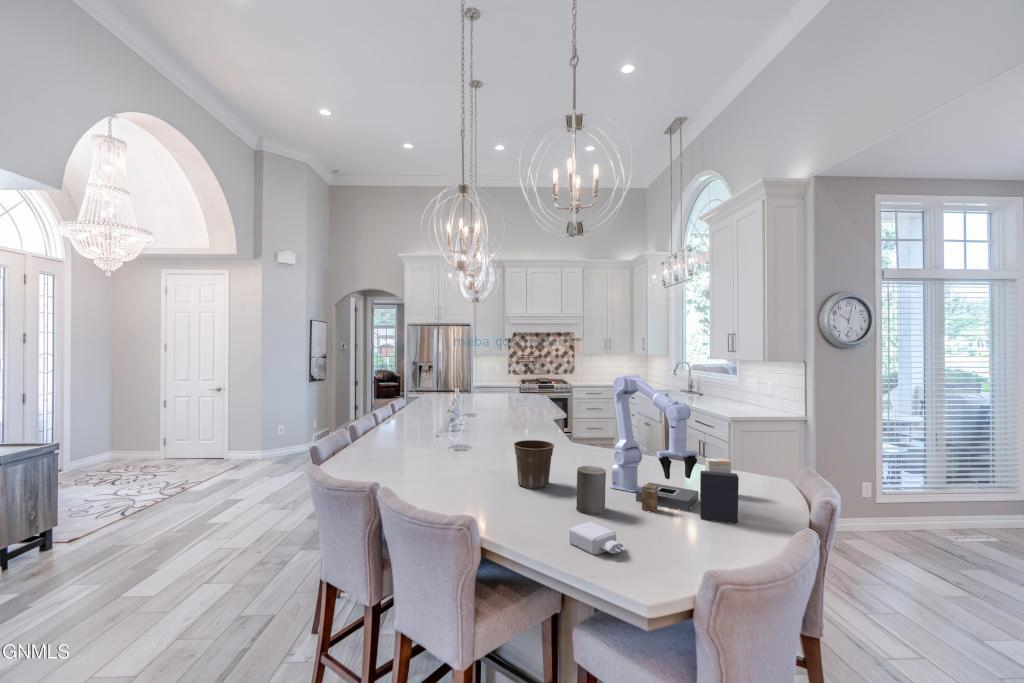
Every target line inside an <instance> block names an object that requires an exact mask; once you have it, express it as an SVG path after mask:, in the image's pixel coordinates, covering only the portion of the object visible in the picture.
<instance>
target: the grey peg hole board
mask: <svg viewBox="0 0 1024 683" xmlns="http://www.w3.org/2000/svg"><path fill="white" fill-rule="evenodd" d="M646 484H650V485H655V486H658V506H659V507H662V508H663V507H664V508H667V507H668V509H672V508H673V510H677V509H680V510H679V511H682V510H684V511H683V512H687V511H688V512H689V511H690V510H691V509H692V508H693V507H694V506H695V505H696V504H697V503H698V502H699V490H693V489H688V488H682V487H676V486H673V485H672V486H671V485H666V484H660V483H656V482H655V483H654V482H647V483H646ZM637 501H639V502H638V503H642V487H641V488H640V489H638V490H637V491H635V502H637ZM697 501H698V502H697ZM696 502H697V503H696ZM695 503H696V504H695ZM694 504H695V505H694ZM693 505H694V506H693ZM692 506H693V507H692ZM691 507H692V508H691ZM690 508H691V509H690Z"/></svg>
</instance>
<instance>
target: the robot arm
mask: <svg viewBox="0 0 1024 683" xmlns="http://www.w3.org/2000/svg"><path fill="white" fill-rule="evenodd" d="M612 384H613V400H614V407H615V408H614V409H615V415H616V423H617V430H618V440H619V441H618V442H617V443H616V444H615V445H614V455H613V456H614V457H613V458H614V461H615V463H614V464H613V465H612V467H611V468H612V469H611V486H610V488H611V489H614V490H621V491H625V492H631V493H636V491H637V490H639V489H640V488H642V486H641V485H638V479H639V478H638V471H639V470H638V468H639V467H638V466H640V463H641V461H642V460H643V453H642V450H641V449H640V444H639V443H638V441H636V440H635V439H634V432H633V424H632V423H633V422H632V417H631V409H630V402H629V401H630V398H631V397H632V396H633V395H635V394H636V393H637V392H639V393H641V394H643V395H644V396H645V397H647V398H648V399H650V400H652V402H653V403H652V404H653V405H654V406H655V407H656V408H657V409H659V410H661V412H663V413H664V414H665V417H666V419H667V421H668V426H669V428H668V429H669V430H668V431H669V432H668V433H669V434H668V437H669V438H668V449H667V450H659V451H656V457H657V458H658V461H659V463H660V465H661V468H662V470H663V474H664V479H667V480H670V478H671V477H670V476H671V466H672V460H671V459H670V458H683V461H684V476H685V478H686V479H691V477H692V476H691V475H692V472H693V470H694V467H695V465H696V464H697V462H698V458H699V451H698V450H694V449H693V450H691V449H687V444H688V442H687V438H688V436H687V435H688V434H687V433H688V430H687V429H688V424H687V423H688V420H689V419H690V417H691V408H690V407H689V406H688V404H686V403H683V402H681V403H679V401H678V400H677V399H675V398H673V397H671V396H669V393H668V392H663V391H661V392H659V391H657V390H656V389H655V388H653V386H651V385H650V384H649V383H648V382H646V381H645V379H644V378H643V377H642V376H640V375H639V374H628V375H627V374H626V375H623V374H619V375H617V376H616V377H615V379H614V380H613V381H612Z"/></svg>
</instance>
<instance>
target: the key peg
mask: <svg viewBox="0 0 1024 683" xmlns="http://www.w3.org/2000/svg"><path fill="white" fill-rule="evenodd" d="M641 488H642V502H641V511H642V510H644V511H643V512H647V511H650V512H649V513H652V512H654V513H655V512H657V510H658V486H655V485H650V484H647V483H645V484H644V485H642V486H641Z"/></svg>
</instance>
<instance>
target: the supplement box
mask: <svg viewBox="0 0 1024 683" xmlns="http://www.w3.org/2000/svg"><path fill="white" fill-rule="evenodd" d="M704 464H705V465H704V468H705V469H704V471H712V472H723V473H732V461H731V460H730V459H728V458H724V457H723V458H722V457H717V458H715V457H714V458H713V457H705V461H704Z"/></svg>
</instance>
